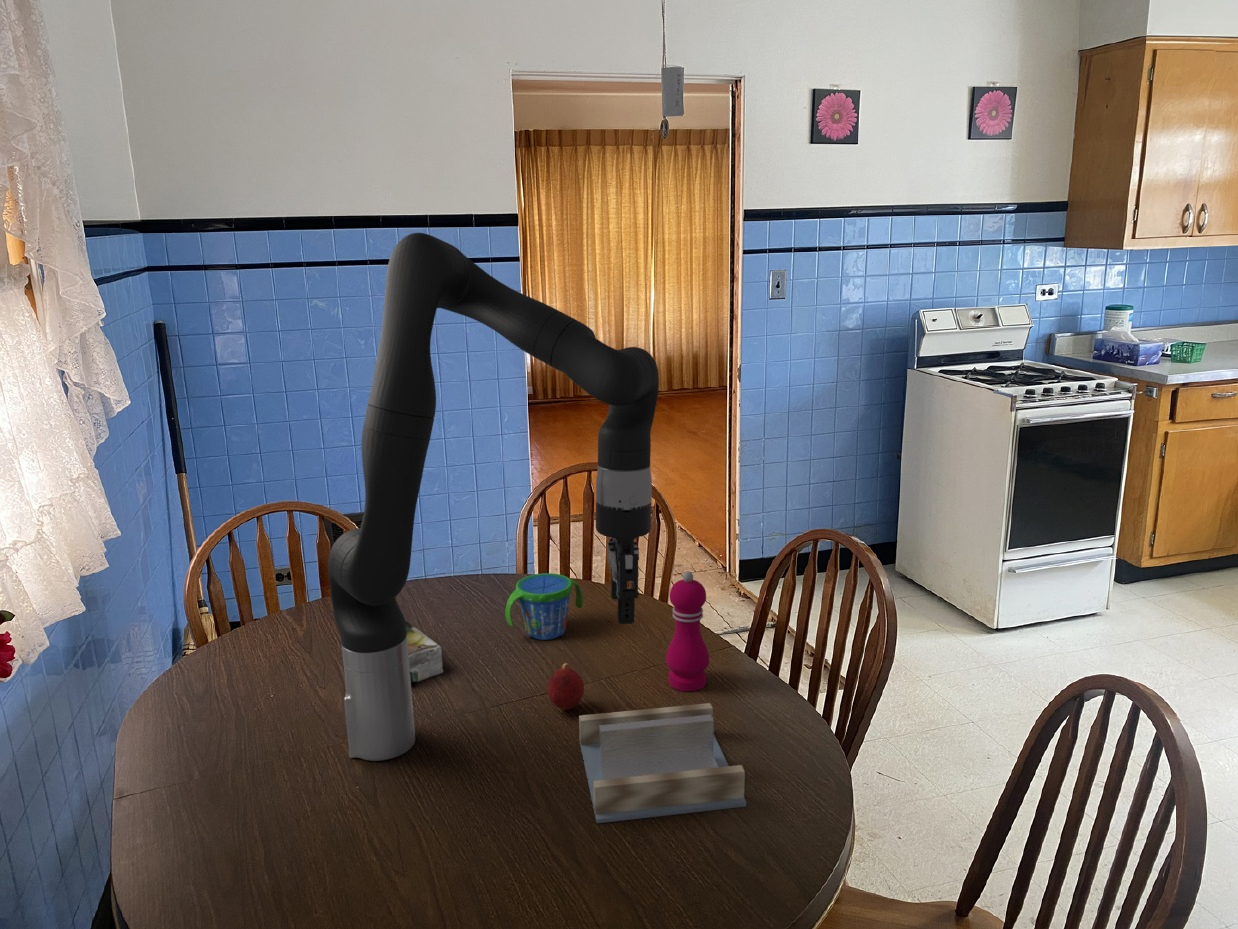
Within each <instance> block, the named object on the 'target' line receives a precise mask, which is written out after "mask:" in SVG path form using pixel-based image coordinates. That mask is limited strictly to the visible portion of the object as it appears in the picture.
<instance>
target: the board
mask: <svg viewBox="0 0 1238 929" xmlns="http://www.w3.org/2000/svg"><path fill="white" fill-rule="evenodd" d="M578 740H579V741H580V735H579V736H578ZM579 745H580V749H581V750H580V751H581V756H582V755H583V756H582V759H583V760H584V761H583V760H582V761H583V764H584V765H583V766H584V769H585V773H586V779H588V780H587V785H588V788H589V793H590V799H591V802H592V808H593V812H594V816H595V821H596V822H595V823H596V824H603V823H610V822H620V821H629V820H638V819H647V818H653V817H655V818H656V817H665V816H672V815H681V814H691V813H700V812H709V811H715V810H716V811H717V810H727V809H732V808H733V809H734V808H743V807H747V801H746V799H745V797H744V798H738V799H729V800H720V801H711V802H702V803H694V804H685V805H676V806H667V807H658V808H649V809H640V810H631V811H623V812H614V813H605V814H595V810H594V785H593V781H597V780H603V778H602V774H601V770H600V743H597V744H587V745H581V743H580V742H579ZM713 756H714V758H715V761H716V763H717V765H718V767H727V766H730V764H729V763H728V762H727V759H726V757H725V755H724V753H723V751H722V749H721V747H720V745H719V743H718V741H717V738H716V736H715V735H714V738H713Z"/></svg>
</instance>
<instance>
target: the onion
mask: <svg viewBox="0 0 1238 929" xmlns="http://www.w3.org/2000/svg"><path fill="white" fill-rule="evenodd" d="M570 666H571V665H570V663H568V662H564V663H563V664H562V666H561V667H560V669H558V670H557V671H555V672H554V673H553V674H552V676H551V677H550V678H549V680H548V684H547V695H548V698H549V700H550V701H551V703H552V704H553V705H555V707H556V708H559V709H561V710H564V711H570V710H571V709H572V708H574V707H575V706H576V705H577V704H579V702H580V701H581V700H582V698H583V696H584V695H585V694H584V693H585V685H584V681H583V679H582V676H581V675H580V674H579V673H578V672H577V671H575V670H574V669H571V668H570Z"/></svg>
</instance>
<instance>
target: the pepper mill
mask: <svg viewBox="0 0 1238 929" xmlns="http://www.w3.org/2000/svg"><path fill="white" fill-rule="evenodd" d="M669 601H670V603H671V605H672V606H673V607H672V618H673V619H675V621H674V622H675V631H674V633H673V634H674V635H673V638H672V640H671V642H670V644H669V646H668V648H667V651H666V658H665V663H666V666H667V667H668V668H669V673H668V683H669V686H670V687H671V688H672V689H674V688H675V689H674V690H676V689H677V690H676V691H679V690H680V692H684V691H687V693H688V692H689V691H692V692H696V690H697V691H700V690H702V689H704V687H705V686H706V684H707V672H706V671H705V670H706V669H708V667H709V665H710V655H709V650H708V647H707V646H706V642H705V641H704V639H703V637H702V632H701V620H702V619H703V618H704V614H703V612H704V609H703V606H704V605H705V603H706V601H707V591H706V589H705V587H704V586H703V584H702V583H701V582H700V581H698V580H695V579H694V574H693V573H692V572H691V571H685V572H684V573H683V574H682V579H679V580H678V581H676V582H675V583H674V584H673V585H672V586H671V588H670V591H669ZM699 689H700V690H699ZM689 693H690V692H689Z"/></svg>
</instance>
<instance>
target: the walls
mask: <svg viewBox="0 0 1238 929" xmlns="http://www.w3.org/2000/svg"><path fill="white" fill-rule="evenodd" d="M713 712H714V707H713V706H712V703H710V702H707V703H698V704H687V705H677V706H666V707H665V706H664V707H657V708H644V709H634V710H624V711H614V712H602V713H593V714H583V715H579V716H578V721H579V723H578V725H579V726H578V727H579V729H578V730H579V736H580V742H579V744H580V743H581V745H587V744H597V743H600V738H599V725H609V724H619V723H629V722H639V721H649V720H660V719H670V718H680V717H690V716H701V715H711V716H712V718H713V719H714V717H713V716H714V713H713ZM745 773H746V771H745V770H744V767H743V765H742V764H738V765H737V764H736V765H729V766H727V767H718V768H709V769H699V770H690V771H681V772H671V773H662V774H653V775H643V776H634V777H625V778H615V779H606V780H597V781H593V785H594V808H593V811H594V810H595V813H594V815H595V814H605V813H614V812H623V811H631V810H640V809H649V808H658V807H667V806H676V805H685V804H694V803H702V802H711V801H720V800H729V799H738V798H744V799H745V778H746V777H745V775H746V774H745Z"/></svg>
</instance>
